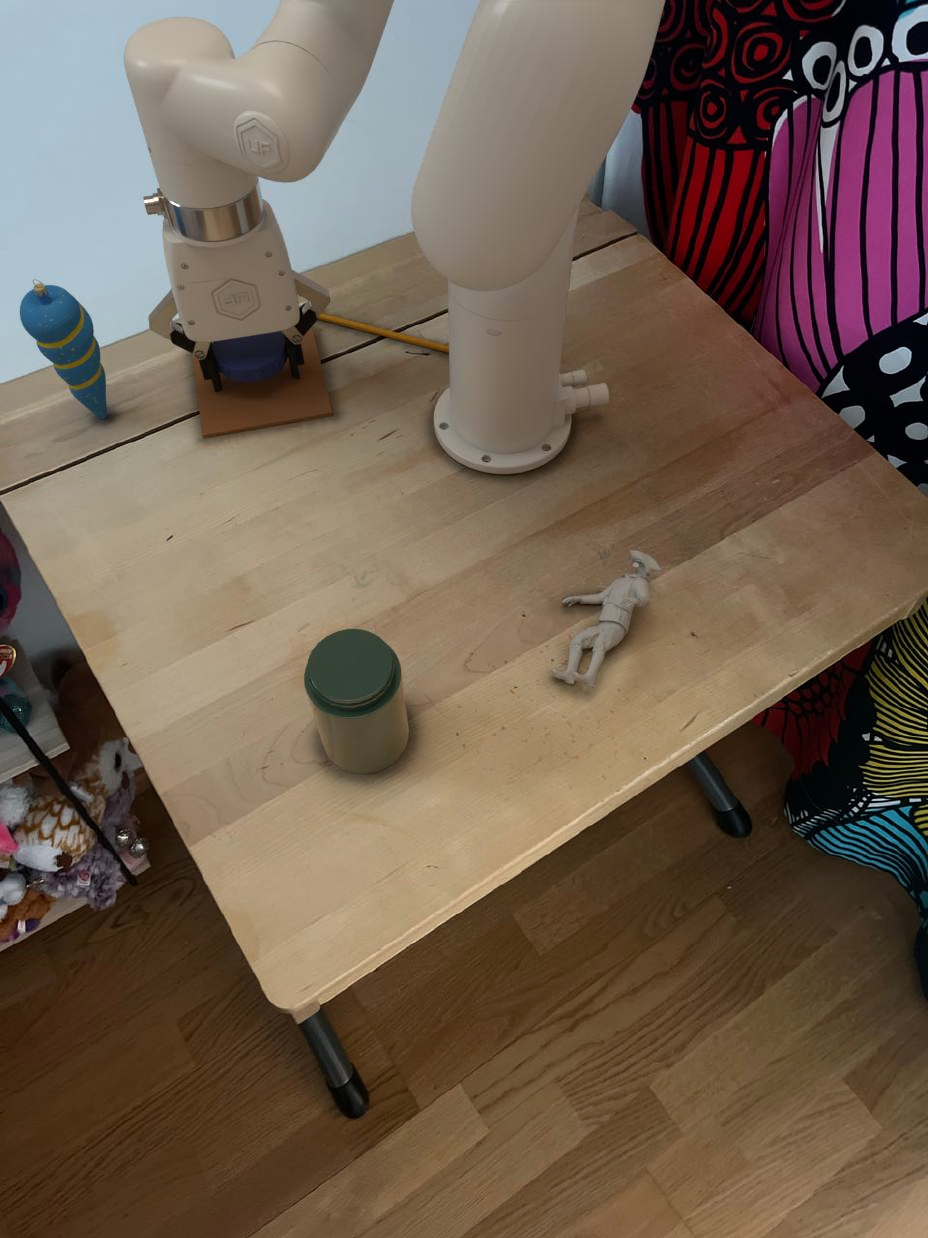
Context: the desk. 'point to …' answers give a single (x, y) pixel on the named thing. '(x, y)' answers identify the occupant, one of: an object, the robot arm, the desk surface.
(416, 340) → the pencil
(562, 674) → the soldier figure
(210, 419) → the mat
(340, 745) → the jar
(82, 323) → the ornament
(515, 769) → the desk surface
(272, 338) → the jar lid
